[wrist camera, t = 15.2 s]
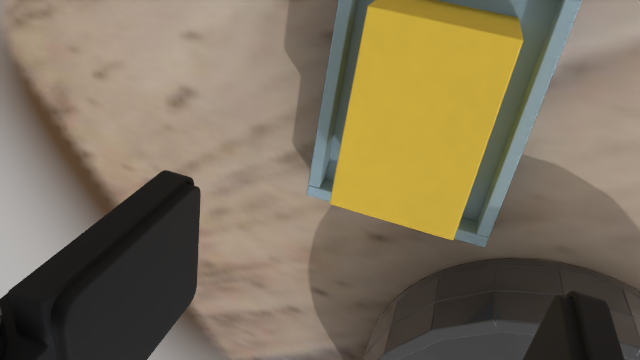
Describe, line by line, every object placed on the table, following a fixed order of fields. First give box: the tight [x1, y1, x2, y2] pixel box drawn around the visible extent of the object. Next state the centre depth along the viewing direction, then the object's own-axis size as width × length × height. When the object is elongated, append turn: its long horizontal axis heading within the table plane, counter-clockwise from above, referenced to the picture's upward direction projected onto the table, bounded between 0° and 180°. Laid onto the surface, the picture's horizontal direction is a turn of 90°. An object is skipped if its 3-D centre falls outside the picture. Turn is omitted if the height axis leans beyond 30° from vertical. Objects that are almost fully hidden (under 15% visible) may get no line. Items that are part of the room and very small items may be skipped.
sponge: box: [330, 0, 523, 240], centre depth 18 cm, size 7×4×4 cm, turn 172°
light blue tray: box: [307, 0, 581, 247], centre depth 19 cm, size 10×8×1 cm
